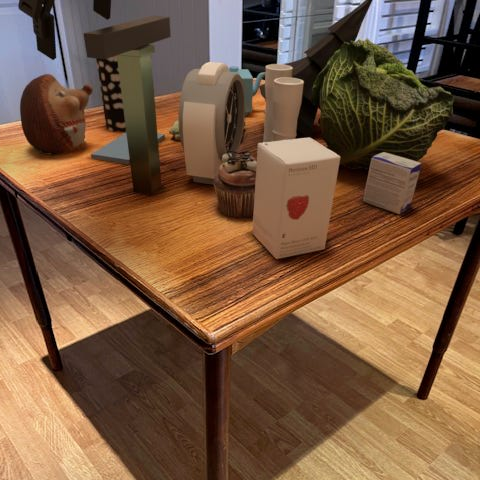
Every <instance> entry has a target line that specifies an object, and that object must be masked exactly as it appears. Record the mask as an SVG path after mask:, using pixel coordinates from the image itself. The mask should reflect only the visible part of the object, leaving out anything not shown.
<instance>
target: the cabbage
mask: <svg viewBox="0 0 480 480" xmlns="http://www.w3.org/2000/svg"><path fill="white" fill-rule="evenodd" d="M312 92H313V93H312V96H310V97H311V98H312V101H311V103H312V105H313V106H316V107H318V110H320V117H319V118H318V119H317V123H318V125H319V128H320V129H321V138H322V140H323V141H324V143H325V144H326V146H325V147H326V148H327V149H329V150H331V151H333V152H334V153H336V154H337V155H339V156H340V162H339V166H341V165H342V166H344V167H346V168H349V169H351V170H357V169H366V170H369V168H370V163H371V158H372V157H373V156H375V155H378V154H380V153H383V152H386V153H389V154H392V155H396V156H399V157H403V158H406V159H410V160H413V161H416V162H420V160H422V159H423V158H424V157H425V156H426V155H428V150H429V149H430V148H431V147H432V146H433V143H434V142H435V140H436V139H437V138H438V133H439V132H441V131H443V130H445V127H446V125H447V123H448V122H449V121H450V119H451V117H452V116H453V113H454V108H453V103H454V102H455V97H454V95H453V94H452V93H451V92H450V91H446V90H445V89H444V88H443V87H441V86H434V87H428V86H426V85H424V84H422V82H421V81H420V79H419V78H418V77H417V76H416V75H415V73H414V72H413V70H411V69H407V67H406V65H404V63H403V61H402V60H400V59H399V58H397V56H396V55H394V54H393V53H392V51H390V50H389V49H388V48H386V47H385V46H383V45H380V44H377V43H374V42H372V41H371V40H370V39H369V37H367V38H366V39H365V40H363V39H356V40H355V42H354V41H350V43H346V42H344V44H342V46H341V48H340V49H339V50H338V51H336V52H335V54H334V55H333V56H332V57H331V58H330V60H329V61H328V63H327V65H326V66H325V68H324V69H323V70H322V71H321V72H320V73H319V74H318V76H317V78H316V80H315V82H314V85H313V88H312Z"/></svg>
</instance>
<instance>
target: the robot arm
mask: <svg viewBox="0 0 480 480" xmlns="http://www.w3.org/2000/svg"><path fill="white" fill-rule="evenodd" d="M55 1H56V0H18V7H17V8H18V10H19V11H21V12H22V13H23V14H25V15H26V16H29V17H30V18H31V19H32V29H33V34H34V35H35V39H36V41H35V42H36V50H37V51H38V52H39V53H41V54H42V55H44V56H45V57H47V58H48V59H51V60H52V61H54V60H56V59H57V43H56V41H57V40H56V28H55V27H56V26H55V24H56V23H55V15H53V13H51V12H52V9H53V6H54V4H55ZM92 1H93V2H92V5H93V6H92V11H93V12H94V13H96V14H97V15H99V16H101V17H102V18H104V19H105V20H107V21H108V20H110V19H111V13H112V12H111V10H112V0H92Z"/></svg>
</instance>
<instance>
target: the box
mask: <svg viewBox="0 0 480 480" xmlns="http://www.w3.org/2000/svg"><path fill="white" fill-rule="evenodd" d="M421 168H422V163H421V162H420V161H417V162H416V161H413V160H410V159H406V158H403V157H399V156H396V155H392V154H389V153H386V152H383V153H380V154H378V155H375V156H373V157H372V158H371V163H370V168H369V169H368V174H367V178H366V183H365V189H364V194H363V198H362V202H364V203H366V204H369V205H371V206H374V207H377V208H380V209H383V210H386V211H388V212H391V213H394V214H397V215H402V214H403V213H405V212H406V211H408V210H409V209H410V208H411V206H412V202H413V198H414V194H415V191H416V187H417V183H418V179H419V175H420V172H421Z"/></svg>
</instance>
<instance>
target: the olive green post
mask: <svg viewBox="0 0 480 480" xmlns="http://www.w3.org/2000/svg"><path fill="white" fill-rule="evenodd" d="M155 52H156V47H155V45H154V44H148V45H146V46H143V47H140V48H137V49H134V50H131V51H128V52H125V53H122V54H119V55H117V60H118V68H119V77H120V85H121V93H122V101H123V109H124V118H125V126H126V132H125V133H126V134H127V142H128V150H129V158H130V164H129V167H130V175H131V182H132V190H133V193H138V194H145V195H149V196H153V195H155V194H156V193H158V191H159V190H160V189H161V188H162V187H163V184H162V173H161V160H160V148H159V147H160V146H159V143H158V135H157V133H158V123H157V112H156V99H155V88H154V75H153V73H154V72H153V63H152V54H153V53H155Z"/></svg>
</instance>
